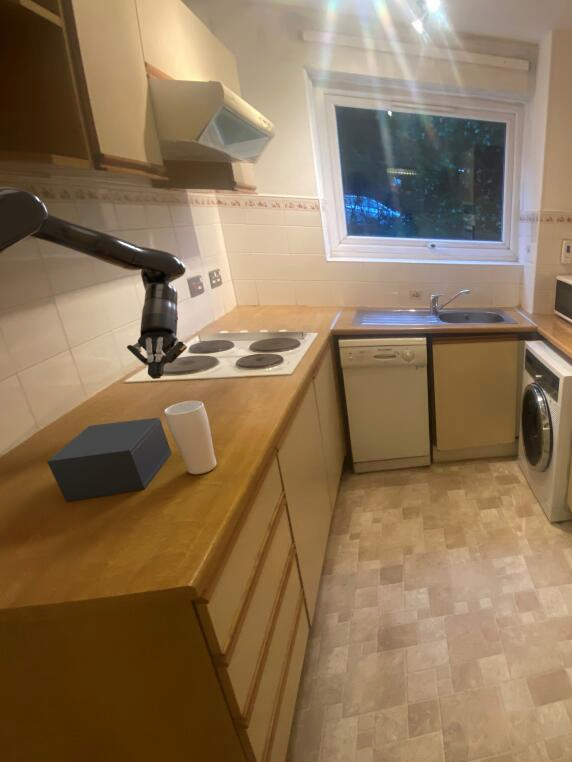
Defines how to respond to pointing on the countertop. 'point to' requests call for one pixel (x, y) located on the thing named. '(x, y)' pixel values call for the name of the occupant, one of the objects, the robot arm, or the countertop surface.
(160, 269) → the robot arm
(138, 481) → the dark grey box
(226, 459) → the countertop surface
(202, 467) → the drinking glass
